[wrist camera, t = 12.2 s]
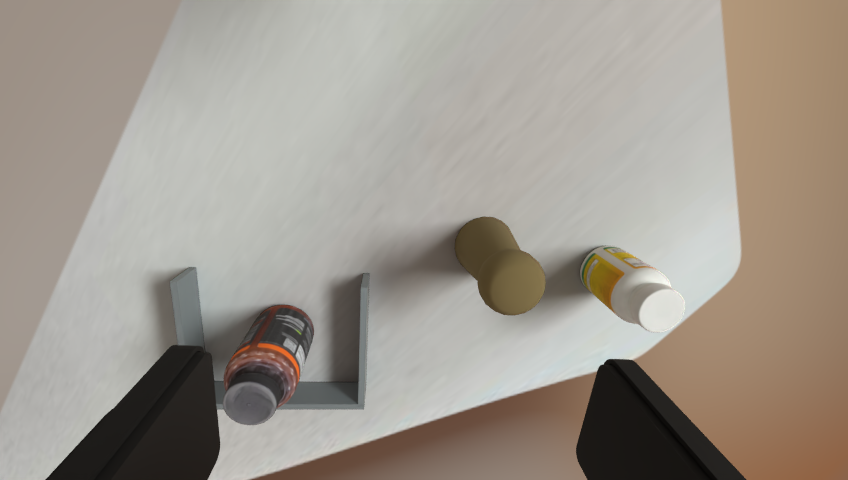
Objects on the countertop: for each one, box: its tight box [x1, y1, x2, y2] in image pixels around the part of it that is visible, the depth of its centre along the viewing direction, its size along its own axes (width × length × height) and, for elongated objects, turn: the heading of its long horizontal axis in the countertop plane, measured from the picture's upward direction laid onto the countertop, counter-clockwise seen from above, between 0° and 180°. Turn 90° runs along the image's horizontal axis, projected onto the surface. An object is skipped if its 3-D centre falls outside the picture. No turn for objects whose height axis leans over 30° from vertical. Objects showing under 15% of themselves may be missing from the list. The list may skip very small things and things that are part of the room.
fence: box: [170, 267, 369, 409], centre depth 39 cm, size 14×17×4 cm
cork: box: [455, 217, 546, 315], centre depth 34 cm, size 6×6×11 cm
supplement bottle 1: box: [223, 305, 314, 425], centre depth 35 cm, size 6×6×11 cm
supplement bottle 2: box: [580, 246, 685, 333], centre depth 37 cm, size 5×5×10 cm
